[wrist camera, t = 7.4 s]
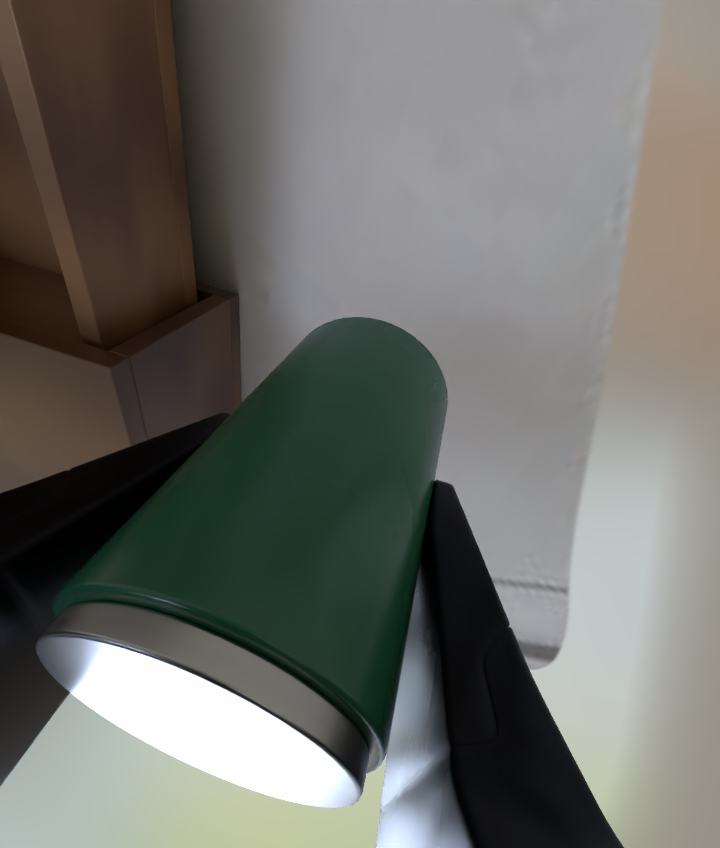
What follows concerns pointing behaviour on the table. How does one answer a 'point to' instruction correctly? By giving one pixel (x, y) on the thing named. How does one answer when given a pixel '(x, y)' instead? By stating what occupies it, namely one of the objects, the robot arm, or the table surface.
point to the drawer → (92, 170)
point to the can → (271, 575)
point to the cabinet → (113, 387)
